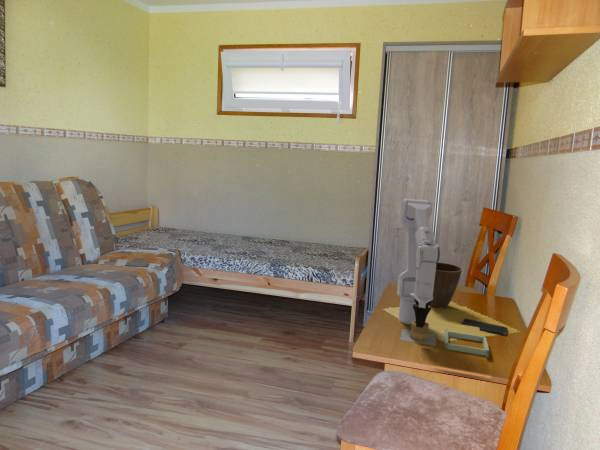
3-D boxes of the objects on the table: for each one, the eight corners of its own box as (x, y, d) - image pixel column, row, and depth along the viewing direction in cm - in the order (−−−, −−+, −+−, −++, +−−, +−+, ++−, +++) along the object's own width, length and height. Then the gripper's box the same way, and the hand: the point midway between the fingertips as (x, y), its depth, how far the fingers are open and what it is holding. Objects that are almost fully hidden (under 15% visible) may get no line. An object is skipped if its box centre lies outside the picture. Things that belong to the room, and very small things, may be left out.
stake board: (402, 331, 166) (403, 316, 165) (435, 336, 163) (437, 321, 162) (399, 342, 155) (401, 326, 154) (435, 348, 152) (437, 332, 151)
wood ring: (410, 332, 162) (411, 319, 161) (427, 335, 161) (428, 322, 160) (409, 338, 157) (411, 324, 156) (426, 341, 155) (428, 327, 155)
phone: (505, 334, 168) (460, 324, 175) (505, 337, 168) (460, 327, 175) (508, 327, 175) (464, 318, 182) (507, 330, 175) (464, 321, 182)
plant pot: (459, 313, 190) (465, 272, 188) (420, 308, 192) (425, 268, 190) (454, 302, 205) (458, 264, 202) (417, 297, 207) (421, 260, 204)
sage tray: (444, 337, 163) (445, 330, 162) (484, 343, 160) (485, 336, 159) (444, 351, 151) (445, 343, 150) (488, 358, 148) (489, 350, 147)
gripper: (413, 275, 164) (408, 314, 166) (410, 285, 150) (406, 328, 152) (434, 278, 162) (430, 318, 164) (434, 289, 148) (429, 332, 150)
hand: (420, 323), depth 158 cm, fingers open, 7 cm apart
